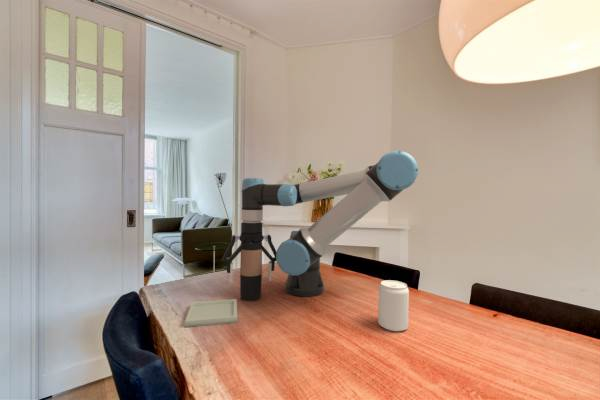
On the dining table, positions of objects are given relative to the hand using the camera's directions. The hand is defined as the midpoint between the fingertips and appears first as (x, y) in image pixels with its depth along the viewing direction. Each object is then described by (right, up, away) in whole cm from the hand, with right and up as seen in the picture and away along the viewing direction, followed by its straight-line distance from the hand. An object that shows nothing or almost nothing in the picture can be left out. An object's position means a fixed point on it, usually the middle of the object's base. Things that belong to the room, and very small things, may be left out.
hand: (250, 281), depth 97 cm
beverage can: (+44, -7, -20) cm, 49 cm away
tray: (-9, -6, -15) cm, 18 cm away
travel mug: (0, -6, 0) cm, 6 cm away
